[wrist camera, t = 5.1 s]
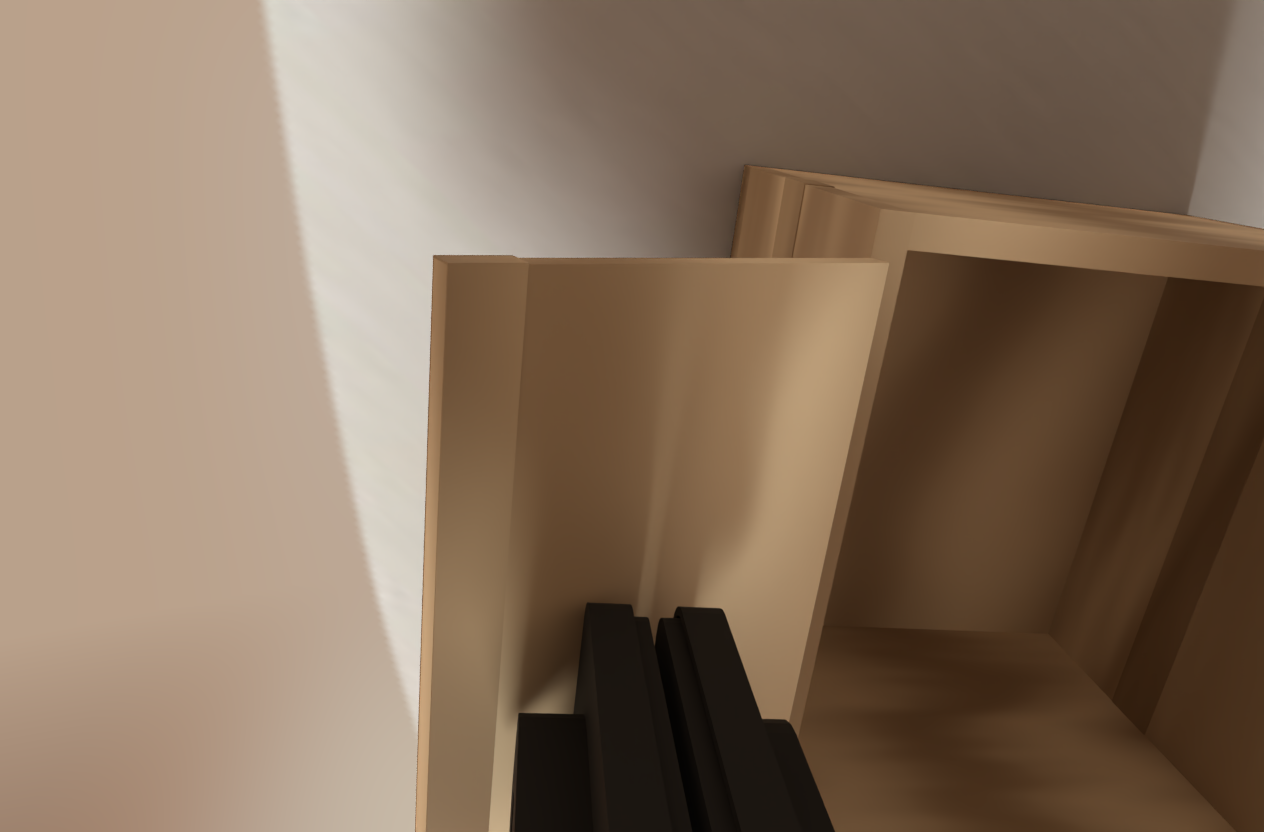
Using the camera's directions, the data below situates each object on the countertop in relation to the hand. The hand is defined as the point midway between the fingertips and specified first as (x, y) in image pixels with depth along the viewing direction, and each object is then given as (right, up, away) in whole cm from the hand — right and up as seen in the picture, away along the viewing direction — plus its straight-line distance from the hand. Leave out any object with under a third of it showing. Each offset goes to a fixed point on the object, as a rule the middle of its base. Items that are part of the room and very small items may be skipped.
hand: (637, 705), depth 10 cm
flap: (0, 0, +1) cm, 1 cm away
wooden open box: (+7, +3, +11) cm, 14 cm away
